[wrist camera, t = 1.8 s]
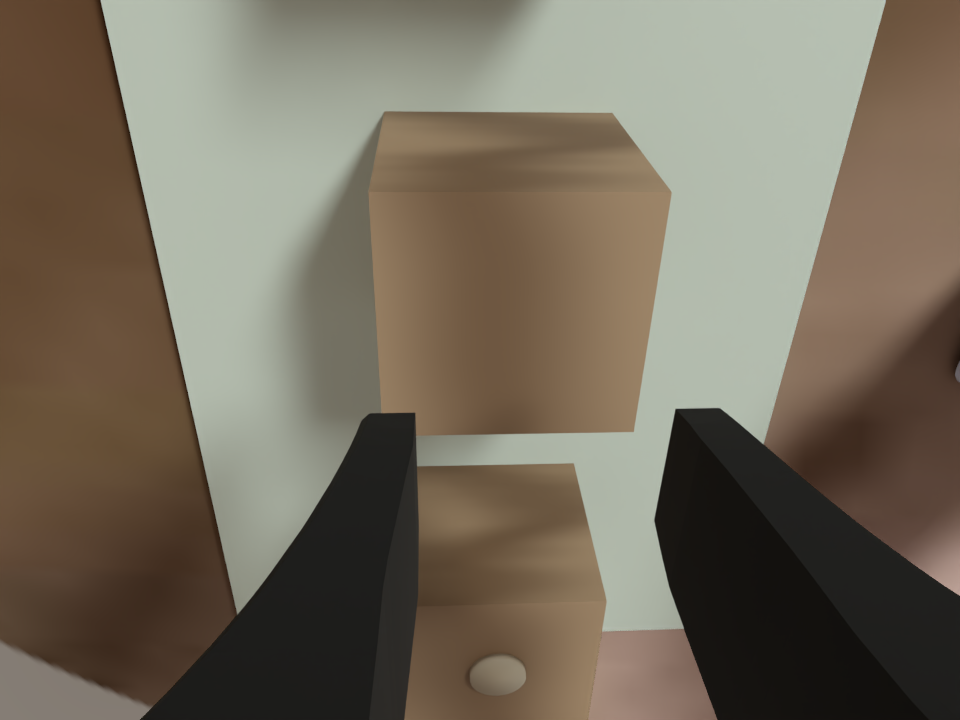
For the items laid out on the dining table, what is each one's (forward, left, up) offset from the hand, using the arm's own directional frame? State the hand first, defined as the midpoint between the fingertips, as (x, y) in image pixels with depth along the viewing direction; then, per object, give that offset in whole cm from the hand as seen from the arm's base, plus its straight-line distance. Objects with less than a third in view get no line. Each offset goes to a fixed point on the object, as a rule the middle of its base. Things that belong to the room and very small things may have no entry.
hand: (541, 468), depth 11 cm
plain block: (0, 0, -9) cm, 9 cm away
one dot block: (0, +10, -9) cm, 13 cm away
